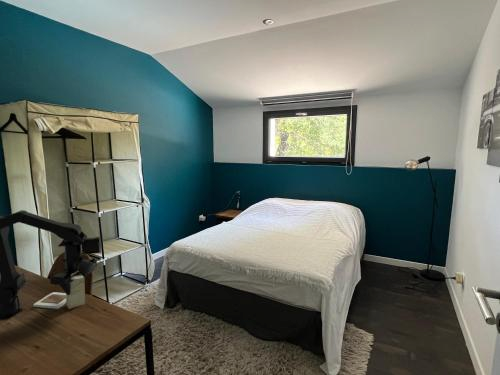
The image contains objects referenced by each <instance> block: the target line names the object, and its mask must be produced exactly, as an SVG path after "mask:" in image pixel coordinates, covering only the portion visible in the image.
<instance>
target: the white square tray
mask: <svg viewBox="0 0 500 375" xmlns="http://www.w3.org/2000/svg"><path fill="white" fill-rule="evenodd" d="M64 305H66V293H65V292H56V291H55V292H51V293H49V294H47V295H46V296H44V297H43V298H42V299H40V300H38V301H36V302H35V303H33V307H34V308H35V307H36V308H44V309H46V308H47V309H54V310H55V309H56V310H58V309H60V308H61V307H63V306H64Z"/></svg>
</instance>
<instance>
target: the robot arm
mask: <svg viewBox="0 0 500 375" xmlns="http://www.w3.org/2000/svg"><path fill="white" fill-rule="evenodd" d="M17 223H21V224H24V225H27V226H31V227H34V228H36V229H40V230H44V231H46V232H50V233H53V234H54V235H56V237H58V238H59V239H62V240H61V242H60V243H59V244H58V245H57V246H58V247H64V258H62V262H64V264H65V267H64V268H62V269H63V270H62V271H63V272H58V273H55V275H53V276H51V277H50V278H49V281H50V284H51V285H58V286H59V287H61V289H62V290H63V292H64V293H66V294H67V295H70V289H71V282H72V281H73V280H71V277H72V276H74V274H76V275H80V274H82V275H83V276H84V282H86V277H87V276H88V275H90V274H91V273H93V272H94V271H95V268H96V267H98V260H97V258H95V257H93V258H91V259H87V258H86V257H85V255H92V254H93V255H95V254H101V253H102V240H101V236H96V237H88V236H87V235H86V233H85V232H83V231H82V228H81V226H80V225H79V224H76V223H71V222H60V221H56V220H53V219H50V218H47V217H45V216H44V217H43V216H41V215H37V214H34V213H32V212H28V211H27V210H23V209H21V210H18V211H16V212H14V213H9V214H7V215H4V216H3V215H0V320H9V319H11V318H13V317H14V316H15V315H17V314H19V313H21V312H22V311H24V309H23V308H21V305H20V304H21V303H20V297H19V294H20V292H21V291H22V290H23V289H24V288H25V286H26V283H27V280H26V279H25V273H24V272H23V273H21V274H20V273H19V272H17V268H16V265H15V262H14V258H13V257H14V256H13V253H12V250H11V246H10V242H9V239H8V236H9V233H10V226H13V225H14V224H15V225H16V224H17ZM82 253H83V254H84V255H83V254H82ZM64 272H65V273H64Z"/></svg>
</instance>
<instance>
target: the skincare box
mask: <svg viewBox="0 0 500 375" xmlns="http://www.w3.org/2000/svg"><path fill="white" fill-rule="evenodd" d="M71 280H73V281H72V282H71V289H70V295H67V294H66V303H65V305H66V307H67V308H68V310H69V309H70V310H71V309H73V308H77V307H81V306H83V305H86V293H85V281H84V276H83V275H82V274H80V275H77V274H76V275H71Z"/></svg>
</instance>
